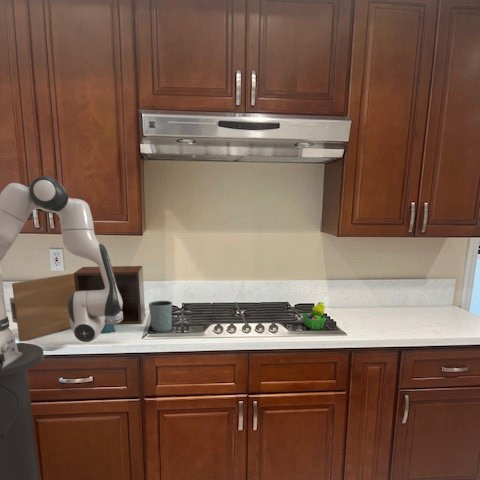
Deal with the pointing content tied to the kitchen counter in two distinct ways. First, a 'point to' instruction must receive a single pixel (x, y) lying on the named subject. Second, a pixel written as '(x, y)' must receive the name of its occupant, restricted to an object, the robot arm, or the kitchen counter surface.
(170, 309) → the grey mug
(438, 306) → the kitchen counter surface
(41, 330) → the cupboard door
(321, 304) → the fruit basket
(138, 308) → the cupboard
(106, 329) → the cup
